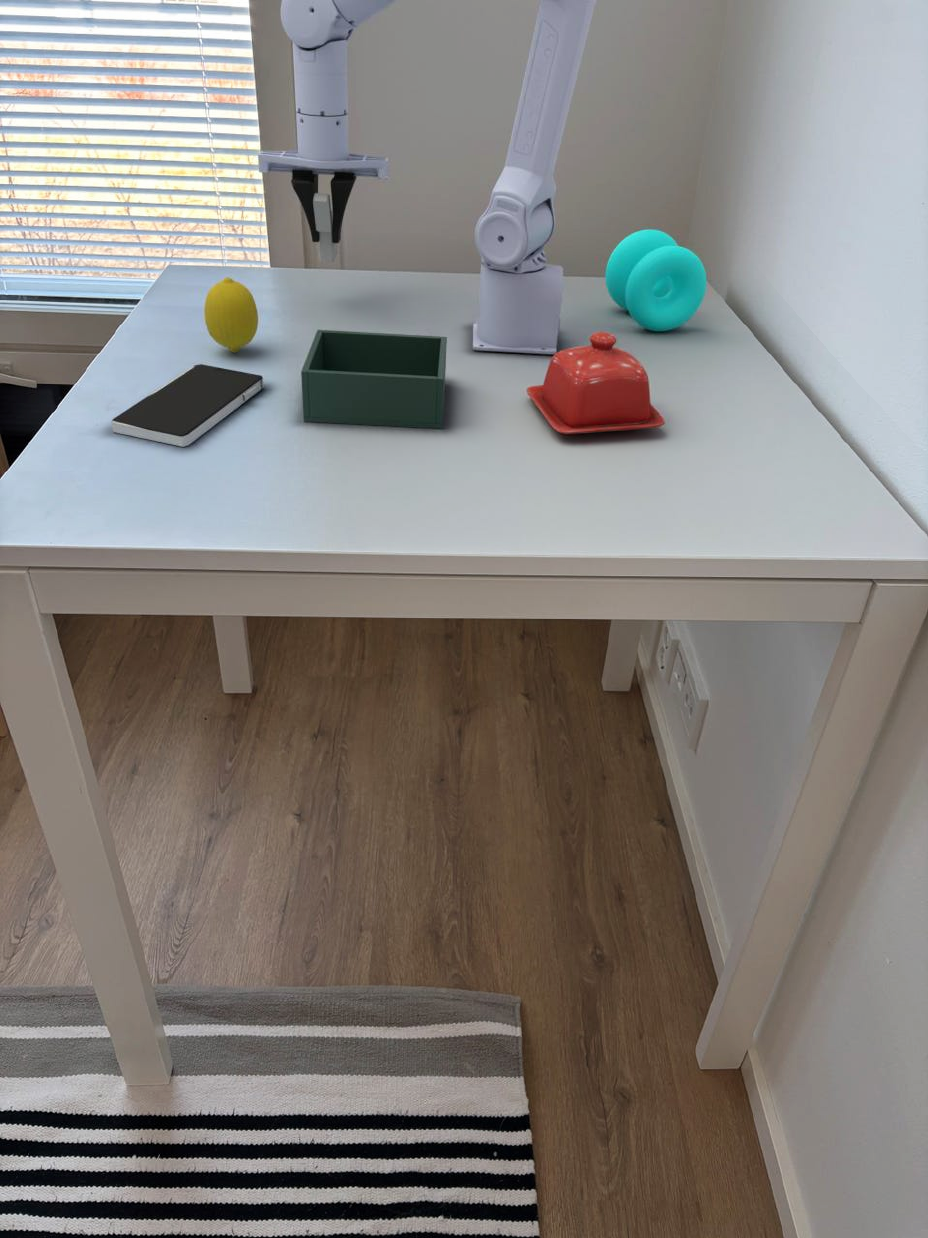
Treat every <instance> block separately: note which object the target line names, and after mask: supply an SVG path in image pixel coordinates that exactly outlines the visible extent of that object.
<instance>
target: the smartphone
mask: <svg viewBox="0 0 928 1238" xmlns="http://www.w3.org/2000/svg"><path fill="white" fill-rule="evenodd" d="M264 387H265V385H264V378H263V375H261V374H255V373H251V372H250V373H249V372H244V371H239V370H234V369H229V368H224V367H218V366H213V365H207V364H202V363H200V364H195V365H193V366H191V367H190V368H188V369H187V370H185V371H184V372H182V373H180V374H179V375H178V376H176V377H175V378H173V379H172V380H170V381H169V382H167V383H166V384H164V385H163V386H161V387H159V388H158V389H157V390H155V391H153V392H152V393H150V394H149V395H147V396H146V397H144V398H142V399H141V400H139V401H138V402H137V403H135V404H134V405H132V406H130V407H129V408H128V409H125V411H123V412H121V413H120V414H118V415H117V416H116V417H114V418H113V419H112V420H111V427H112V431H113V433H116V434H121V435H126V436H130V437H135V438H139V439H144V440H150V441H154V442H160V443H163V444H167V445H172V446H178V447H187V446H190V445H191V444H192V443H193V442H195V441H196V440H197V439H199V438H200V437H201V436H202V435H204V434H205V433H207V432H208V431H209V430H210V429H212V428H213V427H214V426H216V425H217V424H218V423H220V422H221V421H222V420H223V419H224V418H226V417H227V416H229V414H231V413H232V412H234V411H235V410H236V409H238V408H239V407H240V406H242V405H243V404H245V402H247V401H248V400H249V399H251V398H252V397H253V396H255V395H256V394H257V393H258V392H260V391H261V390H263V389H264Z"/></svg>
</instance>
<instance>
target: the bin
mask: <svg viewBox="0 0 928 1238" xmlns="http://www.w3.org/2000/svg"><path fill="white" fill-rule="evenodd" d="M447 344H448V337H447V336H439V335H438V336H437V335H421V334H403V333H385V332H368V331H367V332H366V331H347V330H332V329H331V330H330V329H329V330H328V329H317V330H316V332H315V335H314V338H313V340H312V342H311V345H310V348H309V351H308V352H307V356H306V359H305V361H304V364H303V366H302V368H301V371H300V376H301V396H302V414H303V418H302V419H303V422H305V423H307V422H308V423H325V424H342V425H345V424H346V425H360V426H361V425H363V426H382V427H402V428H420V429H438V430H443V418H444V417H443V416H444V402H445V389H446V369H447V368H446V367H447V366H446V365H447V347H448V346H447Z"/></svg>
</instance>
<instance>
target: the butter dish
mask: <svg viewBox="0 0 928 1238" xmlns="http://www.w3.org/2000/svg"><path fill="white" fill-rule="evenodd" d="M589 341H590V343H591V345H583V346H575V347H570V348H566V349H563V350H559V351H556V354H553V356H552V357H551V359H550V361H549V364H548V366H547V370H546V374H545V377H544V380H543V384H538V385H530V386H528V387H527V388H526V390H525V391H526V394H527V395H528V397H529V398H530V400H531V401H532V402H533V403H534V405H535V406H536V407H537V409H538V410H539V411H540V412H541V414H542V415H543V416H544V418H545V420H546V422H548V424H549V426H551V427H552V428H553V429H554V431H556V432H558V433H560V434H563V435H564V434H566V435H572V434H590V433H591V434H592V433H603V432H604V433H605V432H617V431H631V430H632V431H633V430H641V429H654V428H659V427H662V426H664V425H665V423H666V422H665V419H664V417H663V416H662V415H661V414H660V412H659V411H658V410H657V409H656V408H655V407H654V406H653V405H652V404H651V395H650V394H651V393H650V391H651V390H650V381H649V375H648V373H647V370H646V369H645V368H644V366H643V365H642V364H641V362H640V361H639V360H638V359H637V358H635V356H633V355H632V354H630V353H629V352H628V351H626V350H624V349H621V348H619V347H615V344H617V338H616V337H615V335H613V334H612V333H610V332H605V331H597V332H594V333H592V334H591V335H590V337H589Z"/></svg>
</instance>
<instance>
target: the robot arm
mask: <svg viewBox="0 0 928 1238" xmlns="http://www.w3.org/2000/svg"><path fill="white" fill-rule="evenodd" d="M399 1H400V0H281V3H280V21H281V25H282V27H283V30H284V32H285V34H286V36H287V38H289V40H290V41H291V42H292V58H293V60H292V61H293V79H294V100H295V118H296V120H295V121H296V137H297V150H260V151H259V152H258V153H257V161H258V172H259V173H264V174H265V173H266V174H269V173H270V172H271V173H289V174H291V180H290V183H291V186H292V189H293V191H294V192H295V194H296V196H297V199H298V200H299V202H300V205H301V207H302V209H303V212H304V214H305V217H306V220H307V223H308V227H309V231H310V235H311V242H312V243H319V235H318V231H317V230H316V223H315V214H314V206H313V200H314V194H315V193H319V175H324V176H325V175H328V176H333V177H332V178H331V180H330V182H329V183H330V193H331V210H333V224H332V241H333V243H337V244H339V243H340V242H341V238H342V237H341V234H342V227H343V221H344V216H345V212H346V208H347V206H348V202H349V199H350V196H351V194H352V190H353V188H354V185H355V183H356V180H357V177H363V178H377V179H378V180H388V178H389V173H390V171H389V169H390V168H389V166H390V164H389V163H390V161H389V160H390V158H389V157H386V156H385V157H384V156H374V155H373V156H372V155H366V154H357V153H350V137H349V136H350V134H349V133H350V132H349V131H350V130H349V129H350V127H349V94H348V93H349V91H348V90H349V89H348V88H349V87H348V54H349V53H348V52H349V51H348V45H349V42H350V40H351V38H352V37H353V35H354V33H355V31H356V29H357V28H359V27H360V26H362V25H363V24H365V23H367V22H369V21H370V20H371V19H373V18H374V17H376V16H377V15H379V14H381V13H382V12H384V11H385V10H386V9H388V8H390V7H391V6H393V5H395V4H397V2H399ZM596 3H597V0H540V3H539V7H538V12H537V17H536V21H535V26H534V30H533V36H532V40H531V45H530V49H529V54H528V58H527V63H526V67H525V73H524V75H523V81H522V86H521V90H520V95H519V100H518V104H517V108H516V113H515V118H514V122H513V128H512V131H511V135H510V141H509V145H508V150H507V153H506V158H505V164H504V167H503V170H502V172H501V174H500V175H499V178H498V179H497V181H496V183H495V185H494V187H493V189H492V192H491V195H490V200H489V203H488V206H487V208H486V209H485V211H484V212H483V213H482V215H481V216H480V217H479V218H478V220H477V222H476V225H475V229H474V243H475V247H476V249H477V252H478V253H479V255H480V258H481V259H480V270H479V271H480V274H479V286H478V287H479V288H478V303H477V304H478V305H477V321H476V322H474V323H473V324H472V349H473V350H474V351H481V352H482V351H484V352H500V353H501V352H502V353H517V354H520V353H521V354H538V355H554V354H556V353H557V352H558V351H557V346H558V337H559V336H558V335H559V333H560V330H561V309H562V302H563V301H562V300H563V288H564V270H563V266H561V265H557V264H550V263H547V258H546V257H547V256H546V253H545V249H544V248H545V247H544V246H545V245H546V244H548V243H549V241H550V240H551V239H552V237H553V235H554V233H555V229H556V224H557V221H556V214H555V213H556V212H555V206H554V201H555V197H556V191H557V184H556V181H555V178H554V172H555V169H556V168H555V167H556V163H557V160H558V156H559V151H560V147H561V143H562V140H563V135H564V132H565V127H566V123H567V120H568V116H569V112H570V107H571V103H572V99H573V95H574V91H575V87H576V83H577V79H578V76H579V71H580V67H581V64H582V59H583V55H584V52H585V48H586V43H587V39H588V35H589V31H590V28H591V24H592V19H593V15H594V10H595V8H596Z"/></svg>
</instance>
